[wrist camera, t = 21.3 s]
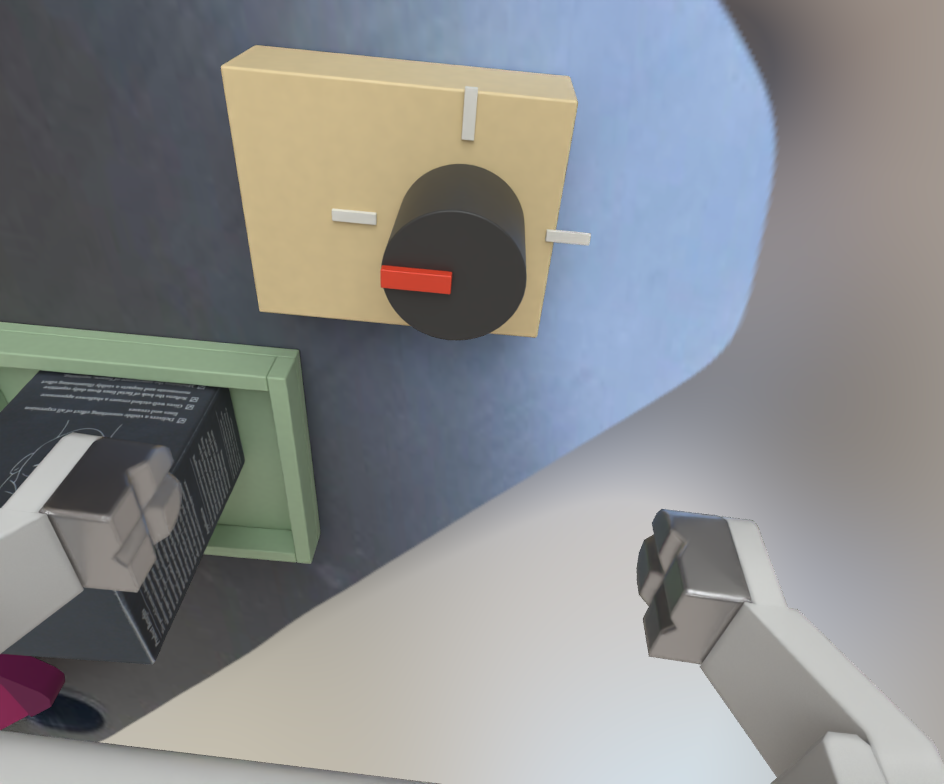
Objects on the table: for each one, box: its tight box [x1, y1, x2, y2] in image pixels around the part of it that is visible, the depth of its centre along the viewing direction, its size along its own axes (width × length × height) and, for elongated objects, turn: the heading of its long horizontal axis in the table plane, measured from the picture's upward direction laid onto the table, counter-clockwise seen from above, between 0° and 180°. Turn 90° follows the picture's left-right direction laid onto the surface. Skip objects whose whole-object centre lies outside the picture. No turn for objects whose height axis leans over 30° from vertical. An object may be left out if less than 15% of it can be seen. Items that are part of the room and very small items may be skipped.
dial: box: [380, 164, 527, 340], centre depth 18 cm, size 4×4×4 cm
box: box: [0, 370, 245, 664], centre depth 25 cm, size 8×6×11 cm
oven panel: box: [221, 45, 591, 338], centre depth 21 cm, size 11×8×3 cm
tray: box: [0, 322, 320, 564], centre depth 30 cm, size 15×13×2 cm
